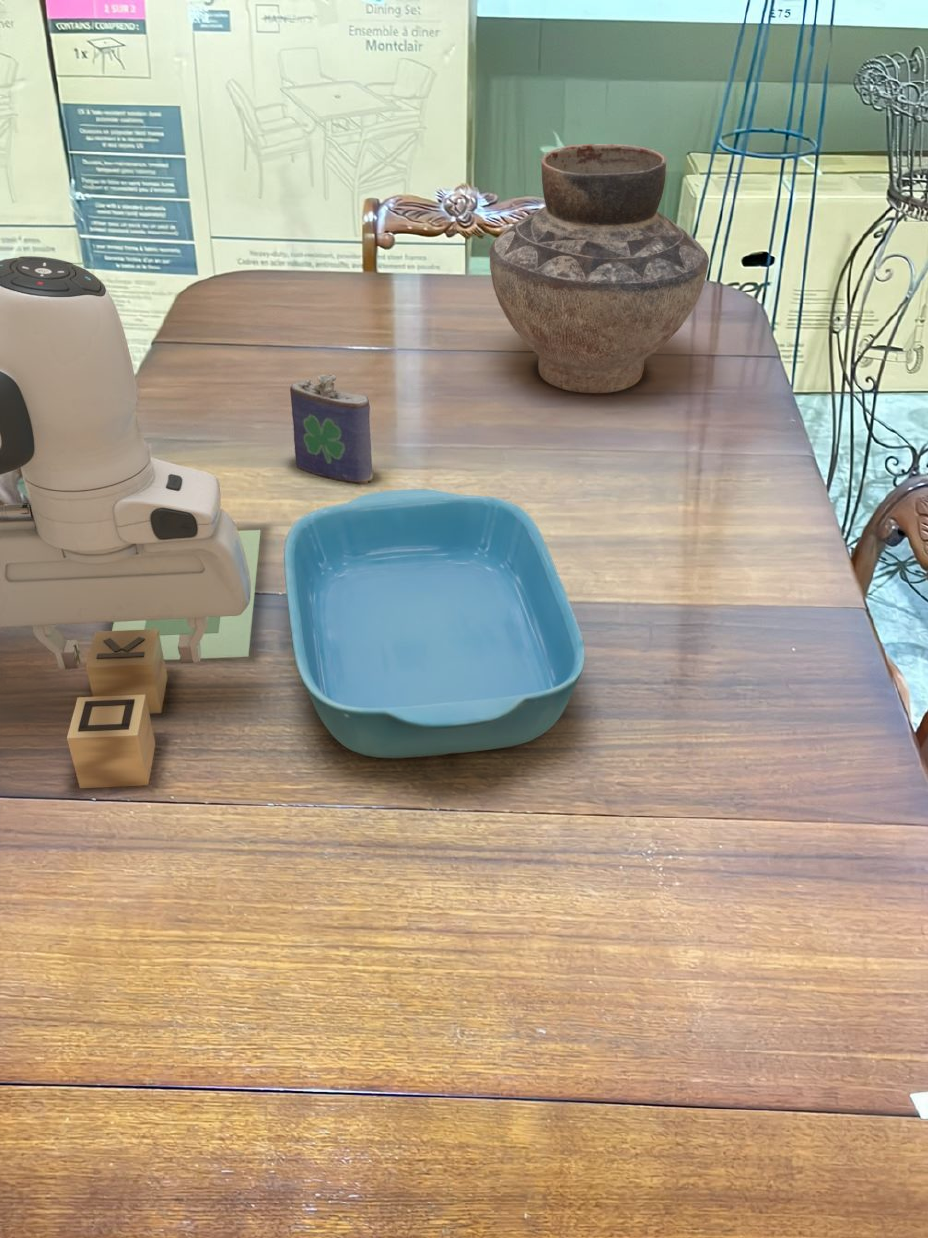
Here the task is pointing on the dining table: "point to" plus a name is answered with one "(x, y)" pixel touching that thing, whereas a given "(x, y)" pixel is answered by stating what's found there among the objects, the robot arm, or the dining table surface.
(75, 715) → the letter O
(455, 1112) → the dining table surface
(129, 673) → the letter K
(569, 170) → the ceramic pot
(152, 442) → the dining table surface
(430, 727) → the casserole dish
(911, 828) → the dining table surface
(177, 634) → the word mat
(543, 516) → the dining table surface
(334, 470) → the flask
